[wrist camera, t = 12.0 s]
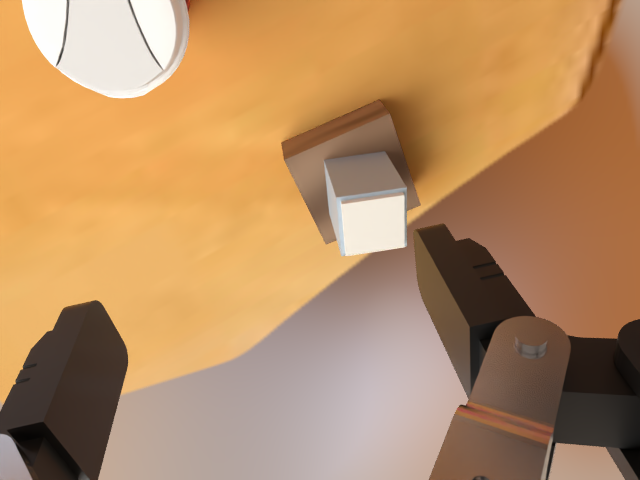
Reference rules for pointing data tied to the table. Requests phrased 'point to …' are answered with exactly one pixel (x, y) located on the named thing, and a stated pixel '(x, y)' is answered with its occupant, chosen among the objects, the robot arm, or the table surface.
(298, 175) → the walnut block
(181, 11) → the paper cup
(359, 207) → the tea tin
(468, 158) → the table surface
